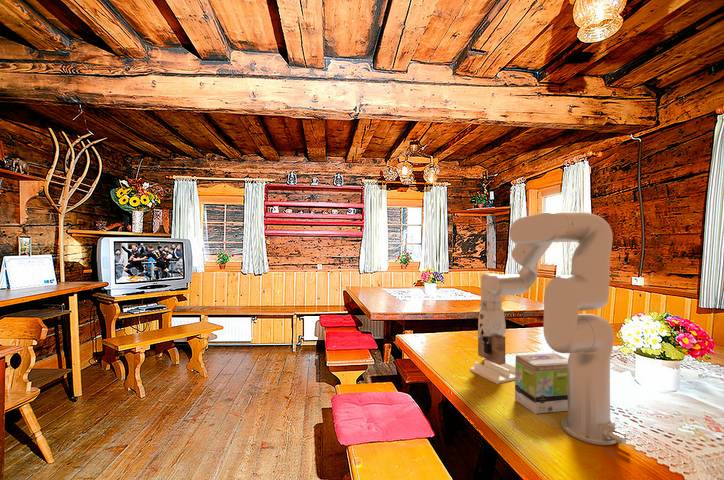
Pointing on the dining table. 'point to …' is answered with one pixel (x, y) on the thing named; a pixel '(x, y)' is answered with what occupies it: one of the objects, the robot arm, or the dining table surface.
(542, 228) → the robot arm
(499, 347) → the walnut board
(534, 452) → the dining table surface
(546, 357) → the tea box
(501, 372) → the rack
